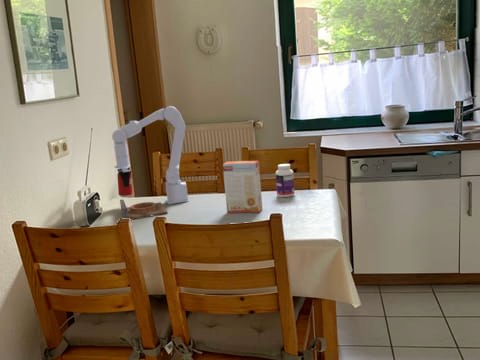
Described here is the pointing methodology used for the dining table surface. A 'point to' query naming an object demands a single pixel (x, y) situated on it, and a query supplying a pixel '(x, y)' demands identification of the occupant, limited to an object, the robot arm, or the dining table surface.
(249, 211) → the cracker box
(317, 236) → the dining table surface
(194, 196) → the dining table surface
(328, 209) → the dining table surface
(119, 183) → the beverage can
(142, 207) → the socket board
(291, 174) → the pill bottle
